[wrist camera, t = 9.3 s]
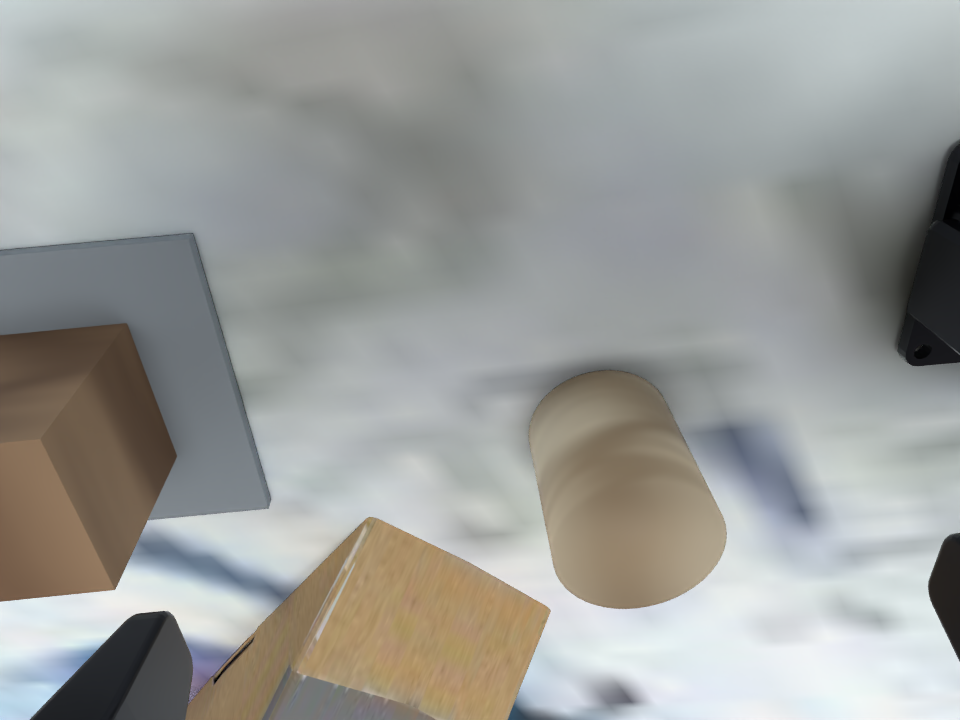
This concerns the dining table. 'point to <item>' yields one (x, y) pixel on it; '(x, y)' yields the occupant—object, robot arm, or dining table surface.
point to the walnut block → (75, 459)
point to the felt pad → (152, 353)
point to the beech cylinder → (621, 493)
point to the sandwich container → (383, 641)
